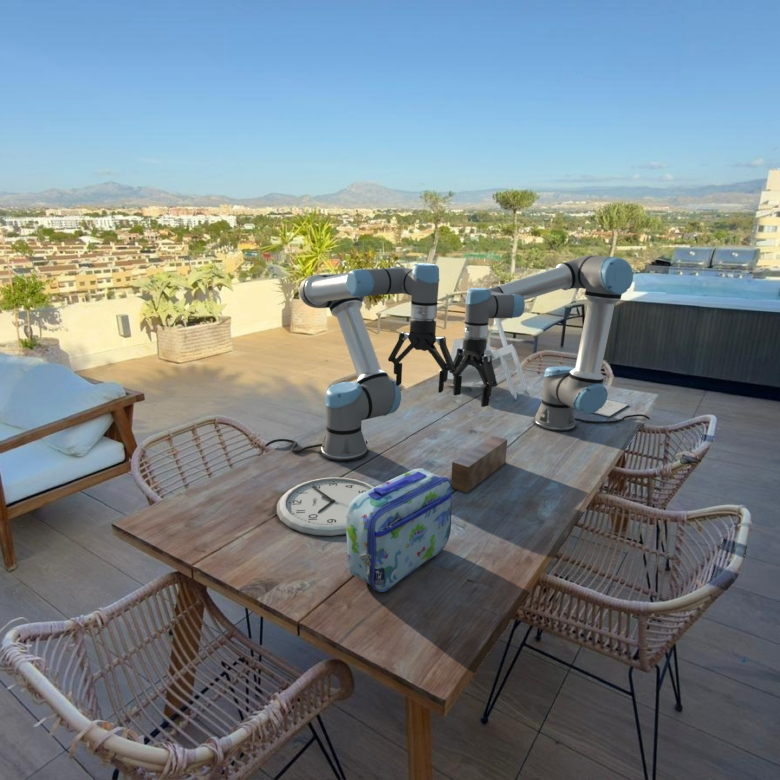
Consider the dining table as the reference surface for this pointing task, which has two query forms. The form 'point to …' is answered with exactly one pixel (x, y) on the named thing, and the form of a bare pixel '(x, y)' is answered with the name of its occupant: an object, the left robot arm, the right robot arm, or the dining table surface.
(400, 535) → the lunch box
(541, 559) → the dining table surface
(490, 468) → the bar
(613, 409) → the invitation card
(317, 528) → the wall clock
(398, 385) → the left robot arm
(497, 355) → the white plastic object
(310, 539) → the dining table surface
